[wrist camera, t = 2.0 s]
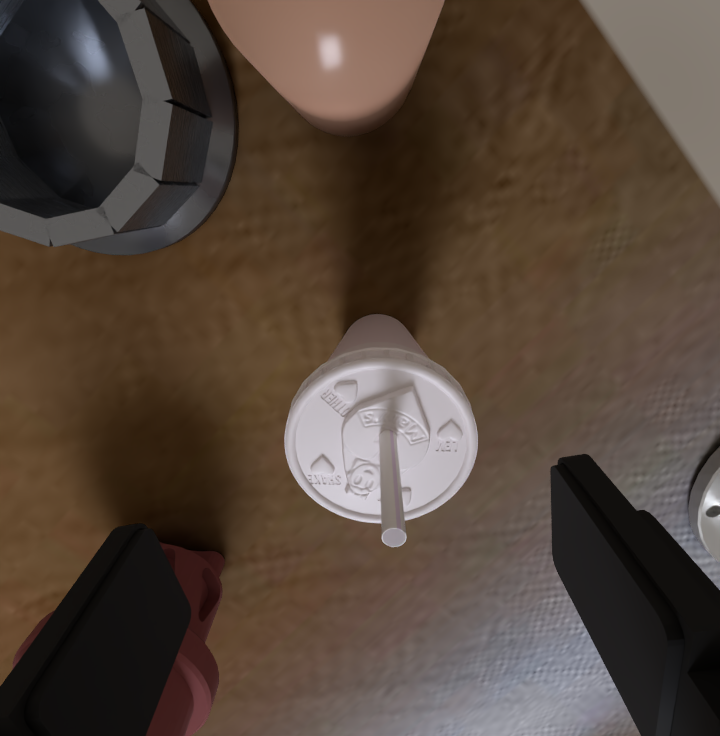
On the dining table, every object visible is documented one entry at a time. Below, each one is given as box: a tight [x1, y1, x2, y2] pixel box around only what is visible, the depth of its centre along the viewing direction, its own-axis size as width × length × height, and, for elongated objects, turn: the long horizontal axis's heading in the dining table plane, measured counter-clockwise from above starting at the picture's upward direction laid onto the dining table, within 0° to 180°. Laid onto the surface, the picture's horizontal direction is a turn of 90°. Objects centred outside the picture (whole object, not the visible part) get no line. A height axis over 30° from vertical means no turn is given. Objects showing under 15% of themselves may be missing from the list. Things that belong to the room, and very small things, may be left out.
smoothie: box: [285, 314, 478, 547], centre depth 16 cm, size 6×6×14 cm
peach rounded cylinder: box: [208, 0, 445, 136], centre depth 14 cm, size 6×6×9 cm
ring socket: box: [0, 0, 238, 255], centre depth 17 cm, size 12×12×5 cm
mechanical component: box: [13, 541, 225, 736], centre depth 23 cm, size 12×10×10 cm
